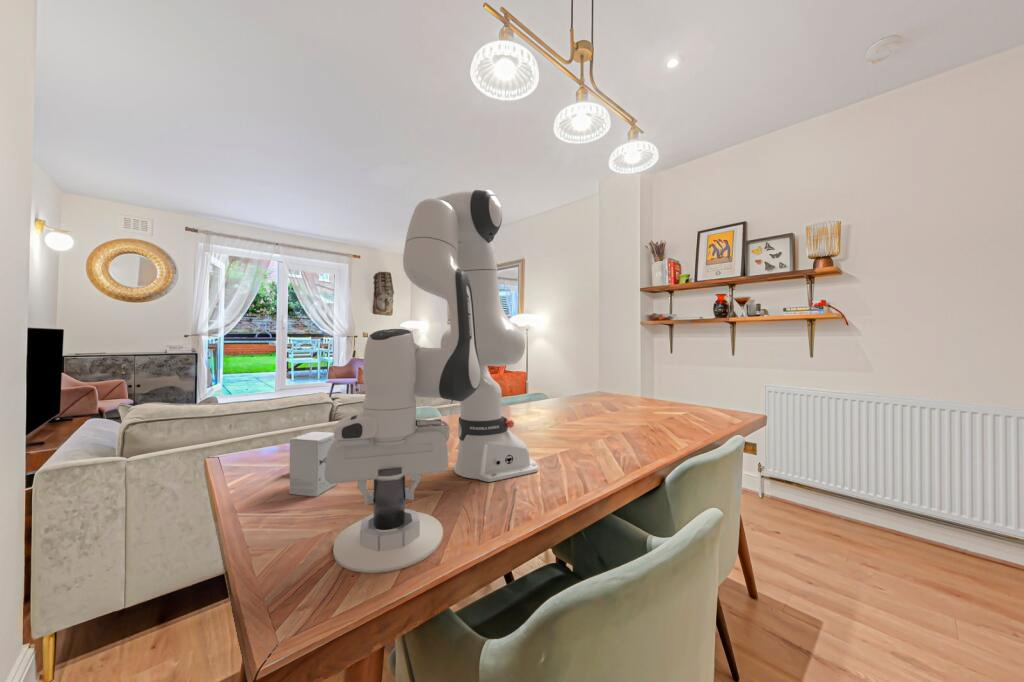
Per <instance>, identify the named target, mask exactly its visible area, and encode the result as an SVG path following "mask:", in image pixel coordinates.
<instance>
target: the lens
mask: <svg viewBox="0 0 1024 682" xmlns="http://www.w3.org/2000/svg"><path fill="white" fill-rule="evenodd" d="M405 487H406V476H403V473H402V467H399V468H389V469H380V470H378V476H377V478H376V479H373V491H374V505H373V513H374V515H373V525H374V527H375V528H376V529H379V530H390V529H395V528H398V527H400V526H401V525H403V524H404V522H405V509H406V500H405Z"/></svg>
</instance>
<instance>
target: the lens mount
mask: <svg viewBox="0 0 1024 682" xmlns="http://www.w3.org/2000/svg"><path fill="white" fill-rule="evenodd" d="M373 515H374V512H373V513H371V514H369V515H368V516H366V517H364V518H362V519H360V520H358V521H355V522H354V523H352V524H350V525H349V526H347V527H346V528H344V529H343V530H342V531H341V532H340V533H339V534H338V535H337V536H336V538H335V539H334V543H333V548H332V549H333V552H332V553H333V558H334V560H335V562H336V563H337V564H338V565H339V566H340V567H342V568H344V569H346V570H348V571H352V572H357V573H363V574H380V573H387V572H394V571H398V570H402V569H405V568H408V567H411V566H413V565H416V564H418V563H420V562H423V560H426V559H427V558H428V557H430V556H431V555H433V553H435V552H436V551H437V550H438V548H439V547H440V545H442V542H443V537H444V529H443V525H442V523H441V522H440V521H439V520H438V519H437V518H435V517H434V516H432V515H430V514H426V513H424V512H419V511H417V510H413V509H410V508H409V509H408V508H405V522H404V524H403V525H401V526H400V527H398V528H395V529H390V530H379V529H376V528H375V527H374V525H373Z"/></svg>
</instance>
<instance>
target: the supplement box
mask: <svg viewBox="0 0 1024 682" xmlns="http://www.w3.org/2000/svg"><path fill="white" fill-rule="evenodd" d="M333 439H334V432H329V431H328V432H325V431H311V432H308V433H305V434H302V435H299V436H295V437H293V438H290V439H289V494H291V495H295V496H296V495H298V496H306V497H319V495H321V494H323V493H325V492H326V491H328V490H330V489H331V488H333V487H335V486H337V485H338V483H336V484H329V483H328V482H327V481H326V480H325V465H326V458H327V453H328V450H329V447H330V445H331V443H332V441H333Z"/></svg>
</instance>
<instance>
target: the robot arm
mask: <svg viewBox="0 0 1024 682" xmlns="http://www.w3.org/2000/svg"><path fill="white" fill-rule="evenodd" d="M502 211H503V210H502V207H501V203H500V200H499V199H498V196H497V195H496V194H495V193H493V191H492V190H489V189H482V188H481V189H474V190H467V191H465V190H464V191H458V192H457V191H456V192H451V193H449V194H445V195H442V196H438V197H435V198H427V199H423V200H422V201H420V202H419V203H418V204H417V205H416V207H415V208H414V210H413V213H412V215H411V218H410V221H409V224H408V227H407V233H406V237H405V242H404V250H403V253H402V254H403V255H402V257H403V258H402V265H403V271H404V273H405V276H406V277H407V278H408V279H409V281H410V282H411V283H412V284H413V285H415V286H416V287H417V288H418V289H420V290H422V291H424V292H426V293H429V294H431V295H433V296H436V297H439V298H441V299H443V300H446V302H447V304H448V308H449V321H450V322H449V323H450V325H449V326H450V328H448V329H446V330H445V331H444V332H443V334H442V337H441V339H440V347H425V346H424V347H423V346H422V347H421V346H420V345H419V344H416V343H415V339H414V334H413V332H412V331H411V330H410V329H409V330H408V329H406V328H405V329H404V328H389V329H381V330H376V331H374V332H372V333H371V334H370V335H368V337H367V340H366V343H365V347H364V355H363V368H362V369H363V370H362V382H363V385H364V389H365V391H364V392H365V393H364V394H365V395H364V399H363V402H362V412H360V413H356V414H354V415H351V416H348V417H345V418H342V419H340V420H339V421H337V422H336V424H335V425H334V426H333V427H334V428H333V433H334V439H333V441H332V443H331V445H330V447H329V450H328V453H327V458H326V465H325V480H326V481H327V482H328V483H329V484H336V483H337V484H343V483H344V484H346V483H353V482H357V488H358V490H359V491H360V493H361V495H362V496H363V497H364V506H365V507H366V506H374V490H373V491H369V490H368V488H367V484H368V481H371V480H374V479H376V478H377V476H378V470H380V469H389V468H399V467H402V473H403V476H405V477H407V476H411V477H410V478H411V482H410V485H409V486H408V487H406V486H405V501H412V500H414V499H415V498H414V497H415V494H414V492H415V490H416V488H417V487H418V485H419V483H420V481H421V475H426V474H435V473H444V472H445V471H446V470H447V469H448V467H449V463H450V462H449V451H448V445H447V442H448V441H449V439H450V434H451V433H450V426H449V424H448V422H446V421H442V419H440V418H439V419H438V418H435V419H417V400H416V398H415V397H419V398H432V399H436V398H437V399H443V400H449V401H455V402H459V403H460V406H459V407H460V409H459V410H460V416H459V417H458V422H457V424H458V425H457V433H458V434H457V435H458V439H459V441H458V443H459V444H458V451H457V457H456V460H455V464H454V467H453V472H454V473H455V474H456V475H458V476H460V477H462V478H468V479H474V480H480V481H483V482H487V483H491V482H495V481H496V482H497V481H501V480H506V479H510V478H514V477H520V476H524V475H528V474H533V473H536V472H537V473H538V471H539V466H538V463H537V462H536V460H535V459H534V458H532V457H530V451H529V448H528V446H527V444H526V442H524V441H523V440H522V439H521V438H520V437H519V436H517V435H516V434H515V433H514V432H512V431H511V430H510V429H511V428H514V426H515V421H514V420H512V419H510V418H507V417H505V416H502V409H503V408H502V405H503V404H502V401H503V400H502V396H503V395H502V388H501V386H500V383H498V382H497V381H495V379H493V377H492V375H491V374H490V373H489V369H488V367H489V366H490V367H504V366H510V365H514V364H517V363H519V361H520V360H521V359H522V357H523V355H524V354H525V350H526V341H525V337H524V335H523V333H522V331H521V329H519V328H518V327H516V325H514V324H513V322H511V320H510V319H509V317H508V316H507V314H506V312H505V310H504V307H503V304H502V302H501V296H500V289H499V277H498V264H497V255H496V252H495V246H494V243H493V242H494V241H493V240H494V239H495V236H496V235H497V234H498V232H499V230H500V228H501V227H502V226H501V225H502V223H503V222H502V220H503V212H502ZM509 428H510V429H509Z"/></svg>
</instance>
